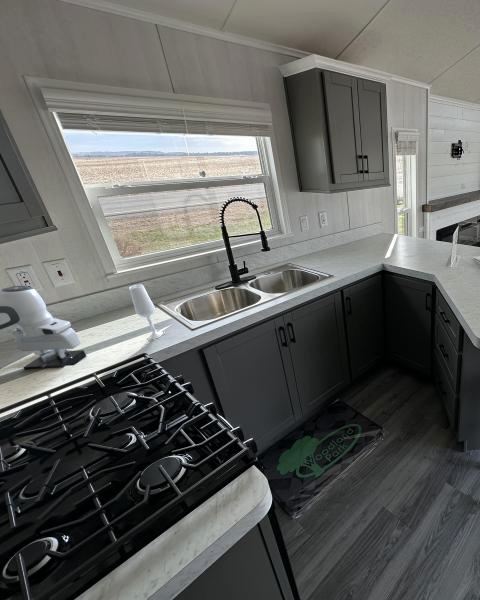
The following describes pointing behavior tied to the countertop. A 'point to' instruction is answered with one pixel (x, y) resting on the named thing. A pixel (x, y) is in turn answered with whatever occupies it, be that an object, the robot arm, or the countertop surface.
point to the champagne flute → (143, 306)
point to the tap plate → (57, 361)
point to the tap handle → (51, 355)
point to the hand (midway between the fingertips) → (57, 357)
